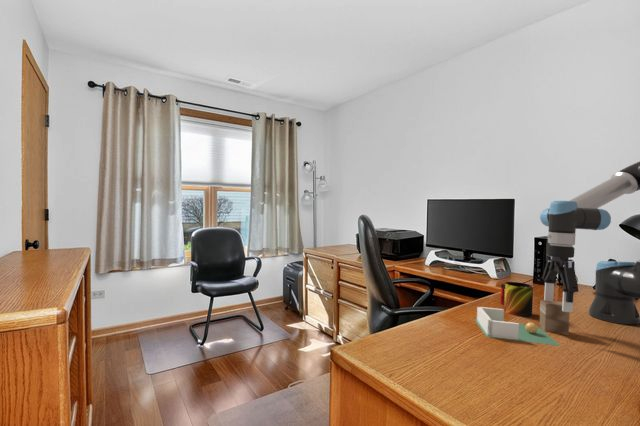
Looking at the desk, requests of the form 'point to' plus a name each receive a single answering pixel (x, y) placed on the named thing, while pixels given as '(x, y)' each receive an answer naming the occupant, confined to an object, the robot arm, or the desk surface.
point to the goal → (496, 323)
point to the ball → (531, 327)
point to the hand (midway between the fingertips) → (557, 306)
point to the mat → (528, 336)
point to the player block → (553, 317)
